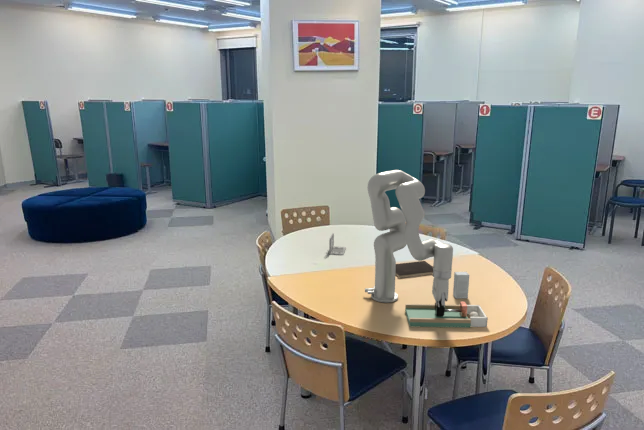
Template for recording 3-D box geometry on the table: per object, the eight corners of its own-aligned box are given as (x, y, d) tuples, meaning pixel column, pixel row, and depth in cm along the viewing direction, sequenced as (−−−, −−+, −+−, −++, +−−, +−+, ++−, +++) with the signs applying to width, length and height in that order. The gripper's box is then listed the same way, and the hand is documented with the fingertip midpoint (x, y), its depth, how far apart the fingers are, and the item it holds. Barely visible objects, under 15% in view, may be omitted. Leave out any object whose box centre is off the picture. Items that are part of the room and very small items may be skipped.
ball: (477, 322, 197) (469, 320, 197) (474, 318, 200) (467, 316, 200) (480, 315, 196) (473, 312, 196) (478, 311, 199) (470, 309, 199)
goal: (469, 326, 193) (470, 317, 192) (462, 313, 204) (463, 304, 203) (486, 326, 192) (487, 318, 191) (478, 313, 204) (479, 305, 203)
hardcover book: (438, 274, 249) (438, 270, 248) (399, 279, 243) (399, 275, 242) (423, 264, 264) (424, 260, 263) (386, 268, 258) (386, 264, 257)
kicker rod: (436, 316, 196) (437, 301, 195) (434, 311, 201) (435, 296, 199) (466, 317, 196) (467, 301, 194) (463, 312, 200) (465, 297, 198)
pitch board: (409, 326, 193) (409, 318, 192) (405, 311, 206) (405, 303, 205) (470, 327, 192) (471, 319, 191) (462, 312, 205) (462, 304, 204)
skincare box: (464, 294, 223) (466, 271, 220) (467, 298, 219) (469, 274, 216) (452, 294, 223) (454, 271, 219) (455, 298, 218) (457, 275, 215)
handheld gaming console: (343, 255, 277) (343, 239, 274) (328, 254, 279) (328, 238, 276) (346, 248, 290) (346, 233, 287) (331, 247, 291) (331, 232, 288)
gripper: (429, 265, 202) (427, 304, 206) (436, 280, 186) (434, 322, 191) (446, 266, 201) (444, 304, 206) (455, 280, 185) (452, 322, 190)
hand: (439, 312), depth 198 cm, fingers closed on kicker rod, 3 cm apart
